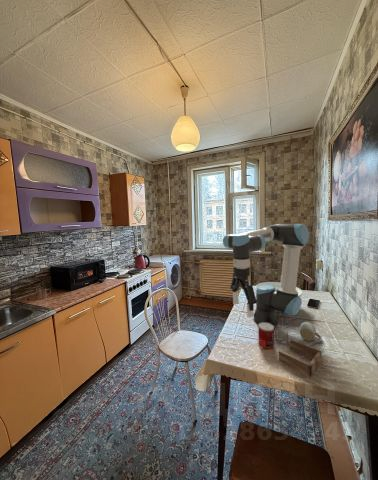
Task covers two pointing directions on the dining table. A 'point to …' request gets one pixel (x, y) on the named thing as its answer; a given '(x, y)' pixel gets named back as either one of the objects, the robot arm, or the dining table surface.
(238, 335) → the dining table surface
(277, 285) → the bowl
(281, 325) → the dining table surface
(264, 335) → the canned food
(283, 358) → the frame
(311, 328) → the ceramic mug
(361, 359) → the dining table surface
